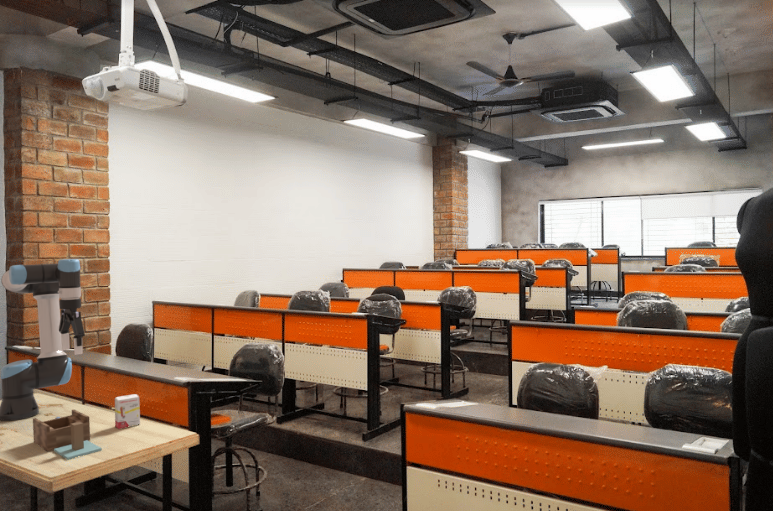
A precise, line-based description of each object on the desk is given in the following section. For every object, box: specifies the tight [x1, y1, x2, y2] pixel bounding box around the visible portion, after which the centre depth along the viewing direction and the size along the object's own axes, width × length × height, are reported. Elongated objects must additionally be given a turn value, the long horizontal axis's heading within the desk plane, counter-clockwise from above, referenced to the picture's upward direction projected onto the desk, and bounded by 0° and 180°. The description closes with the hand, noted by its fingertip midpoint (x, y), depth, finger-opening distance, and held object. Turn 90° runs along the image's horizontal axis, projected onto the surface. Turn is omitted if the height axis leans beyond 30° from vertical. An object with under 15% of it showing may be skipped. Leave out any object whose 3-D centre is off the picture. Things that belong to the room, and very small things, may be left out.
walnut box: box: [32, 409, 91, 452], centre depth 214 cm, size 15×14×9 cm
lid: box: [53, 422, 103, 461], centre depth 204 cm, size 13×11×10 cm
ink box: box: [114, 393, 141, 430], centre depth 231 cm, size 9×5×12 cm, turn 127°
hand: (72, 352), depth 224 cm, fingers open, 13 cm apart
